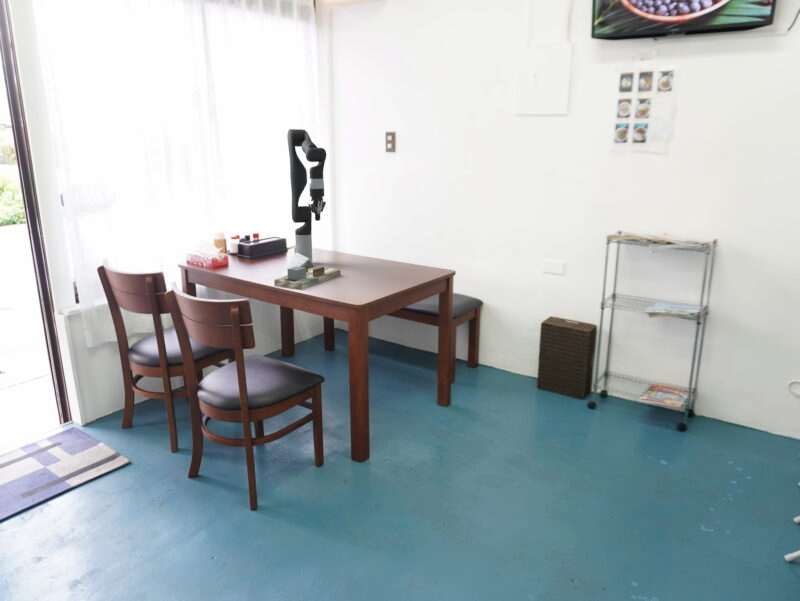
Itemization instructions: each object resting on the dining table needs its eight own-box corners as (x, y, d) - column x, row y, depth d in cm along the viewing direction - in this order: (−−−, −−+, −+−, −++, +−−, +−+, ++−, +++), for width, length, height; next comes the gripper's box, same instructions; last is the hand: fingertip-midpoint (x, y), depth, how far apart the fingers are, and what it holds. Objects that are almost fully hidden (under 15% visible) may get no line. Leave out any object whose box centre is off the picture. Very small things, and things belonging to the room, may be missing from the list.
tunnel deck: (274, 285, 281) (273, 272, 279) (316, 271, 311) (315, 260, 309) (300, 289, 274) (300, 276, 272) (340, 275, 304) (340, 263, 302)
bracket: (296, 252, 324) (309, 258, 307) (307, 264, 329) (320, 271, 312) (279, 267, 321) (291, 274, 304) (290, 279, 326) (302, 287, 309)
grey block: (287, 278, 282) (287, 268, 280) (296, 276, 288) (296, 266, 286) (297, 280, 279) (297, 270, 278) (306, 277, 285) (305, 267, 284)
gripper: (318, 186, 303) (319, 218, 308) (303, 187, 292) (304, 221, 297) (330, 186, 300) (330, 219, 305) (315, 188, 289) (316, 222, 293)
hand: (317, 220), depth 301 cm, fingers closed
